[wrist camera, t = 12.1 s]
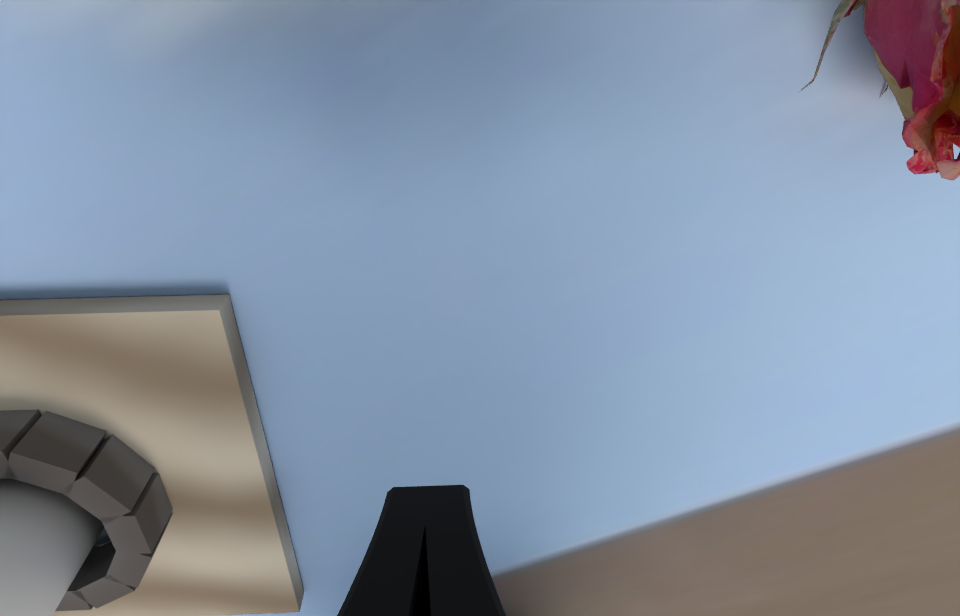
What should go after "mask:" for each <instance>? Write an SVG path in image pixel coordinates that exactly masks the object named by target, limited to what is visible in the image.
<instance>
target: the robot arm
mask: <svg viewBox="0 0 960 616" xmlns="http://www.w3.org/2000/svg"><path fill="white" fill-rule="evenodd" d="M337 616H506V615H505V612H504V610H503V607H502V605H501V602H500V599H499V597H498V594H497V591H496V589H495V586H494V583H493V581H492V578H491V575H490V573H489V570H488V567H487V564H486V561H485V558H484V555H483V551H482V548H481V544H480V541H479V538H478V534H477V530H476V526H475V522H474V518H473V513H472V507H471V501H470V492H469V489H468V488H467V487H465V486H464V485H445V486H417V487H393V488H392V489H391V490H390V491H388V492H387V496H386V499H385V503H384V506H383V509H382V512H381V515H380V518H379V521H378V524H377V527H376V530H375V532H374V535H373V537H372V540H371V542H370V545H369V547H368V550H367V552H366V555H365V557H364V559H363V562H362V564H361V566H360V568H359V570H358V573H357V575H356V577H355V579H354V581H353V584H352V586H351V588H350V590H349V592H348V594H347V597H346V599H345V601H344V603H343V605H342V607H341V609H340V611H339V613H338V615H337Z"/></svg>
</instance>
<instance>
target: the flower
mask: <svg viewBox="0 0 960 616" xmlns="http://www.w3.org/2000/svg"><path fill="white" fill-rule="evenodd" d="M862 4H864V33H865V35H866V37H867V38H868V40H869V42H870V43H871V46H872V49H873V51H874V54H875V57H876V59H877V63H878V67H879V70H880V72H881V73H882V75H883V77H884V79H885V80H886V82H887V84H888V85H887V88H888V86H889V87H890V89H891V91H892V92H893V94H894V96H895V98H896V100H897V102H898V105H899V107H900V109H901V112H902V114H903V116H904V119H905V121H904V125H903V131H902V137H903V140H904V142H905V143H906V145H907V146H908V147H910V148H912V149H914V156H913V157H912V158H910V159H909V160H908V161H907V167H908V169H909V170H910V171H911V172H913V173H914V174H926V173H933V172H935V171H936V173H937V172H939V173H940V175H941V177H942V178H945V179H948V180H954V179H956V178H957V177H958V176H959V175H960V153H959V155H958V158H957V159H954V153H953V143H954V144H955V145H957V146H958V147H959V148H960V0H842V2H841V3H840V5H839V6H838V8H837V9H836V11H835V13H834V16H833V19H832V22H831V25H830V28H829V31H828V34H827V37H826V40H825V43H824V47H823V50H822V53H821V56H820V59H819V62H818V66H817V69H816V72H815V75H814V78H813V80H812V81H811V82H809V83H808V84H807V85H806V86H805V87H807V86H808V85H809V84H811V83H812V82H813V81H814V79H815V77H816V75H817V73H818V70H819V67H820V64H821V61H822V58H823V55H824V52H825V50H826V48H827V46H828V44H829V42H830V40H831V38H832V36H833V34H834V32H835V30H836V27H837V25H838V23H839V22H840V21H841V19H842V18H844V17H846V16H848V15H850V13H851V11H852V10H855V9H857V8H858V7H859V6H861V5H862ZM805 87H804V88H805ZM804 88H803V89H804ZM887 88H886V89H885V91H886V90H887ZM803 89H802V90H803ZM885 91H884V92H885ZM884 92H883V93H884ZM798 93H799V92H798ZM883 93H882V94H883ZM880 97H881V96H880Z"/></svg>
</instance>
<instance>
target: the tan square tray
mask: <svg viewBox="0 0 960 616" xmlns="http://www.w3.org/2000/svg"><path fill="white" fill-rule="evenodd" d="M2 478H12V479H15V480H19V481H22V482H25V483H29V484H32V485H35V486H39V487H42V488H45V489H49V490H52V491H56V492H59V493H62V494H64V495H66V496H67V497H68V498H70V499H71V500H73V501H74V502H76V503H77V504H78V505H80V506H81V507H83V508H84V509H85V510H87V511H88V512H90V513H91V514H92V515H94V516H95V517H97V518H98V519H99V520H101V521H102V523H103V525H104V529H103V531H102V532H101V534H100V536H99V537H98V539H97V541H96V543H95V544H94V546H93V548H92V549H91V551H90V553H89V554H88V556H87V558H86V559H85V561H84V563H83V564H82V566H81V568H80V570H79V571H78V573H77V575H76V576H75V578H74V580H73V581H72V583H71V585H70V586H69V588H68V590H67V592H66V593H65V595H64V597H63V598H62V600H61V602H60V603H59V605H58V607H57V608H56V610H55V612H54V613H53V615H52V616H215V615H239V614H263V613H287V612H300V608H301V603H302V599H303V594H304V589H303V585H302V582H301V578H300V574H299V570H298V566H297V562H296V558H295V554H294V550H293V546H292V542H291V538H290V534H289V530H288V526H287V522H286V518H285V514H284V510H283V506H282V502H281V498H280V494H279V490H278V486H277V482H276V478H275V475H274V471H273V467H272V463H271V459H270V455H269V451H268V447H267V443H266V439H265V435H264V431H263V427H262V423H261V419H260V415H259V411H258V407H257V403H256V399H255V395H254V391H253V387H252V383H251V379H250V375H249V371H248V368H247V364H246V360H245V356H244V352H243V348H242V344H241V340H240V336H239V332H238V328H237V324H236V320H235V316H234V312H233V308H232V304H231V300H230V296H229V294H226V295H186V296H145V297H105V298H65V299H24V300H0V479H2Z"/></svg>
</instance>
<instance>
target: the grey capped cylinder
mask: <svg viewBox="0 0 960 616" xmlns="http://www.w3.org/2000/svg"><path fill="white" fill-rule="evenodd" d="M103 529H104V525H103V523H102V521H101V520H99V519H98V518H97V517H95V516H94V515H92V514H91V513H90V512H88V511H87V510H85V509H84V508H83V507H81V506H80V505H78V504H77V503H76V502H74V501H73V500H71V499H70V498H68V497H67V496H66V495H64V494H62V493H59V492H56V491H52V490H49V489H45V488H42V487H39V486H35V485H32V484H29V483H25V482H22V481H19V480H15V479H12V478H2V479H0V616H52V615H53V613H54V612H55V610H56V608H57V607H58V605H59V603H60V602H61V600H62V598H63V597H64V595H65V593H66V592H67V590H68V588H69V586H70V585H71V583H72V581H73V580H74V578H75V576H76V575H77V573H78V571H79V570H80V568H81V566H82V564H83V563H84V561H85V559H86V558H87V556H88V554H89V553H90V551H91V549H92V548H93V546H94V544H95V543H96V541H97V539H98V537H99V536H100V534H101V532H102V531H103Z"/></svg>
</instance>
